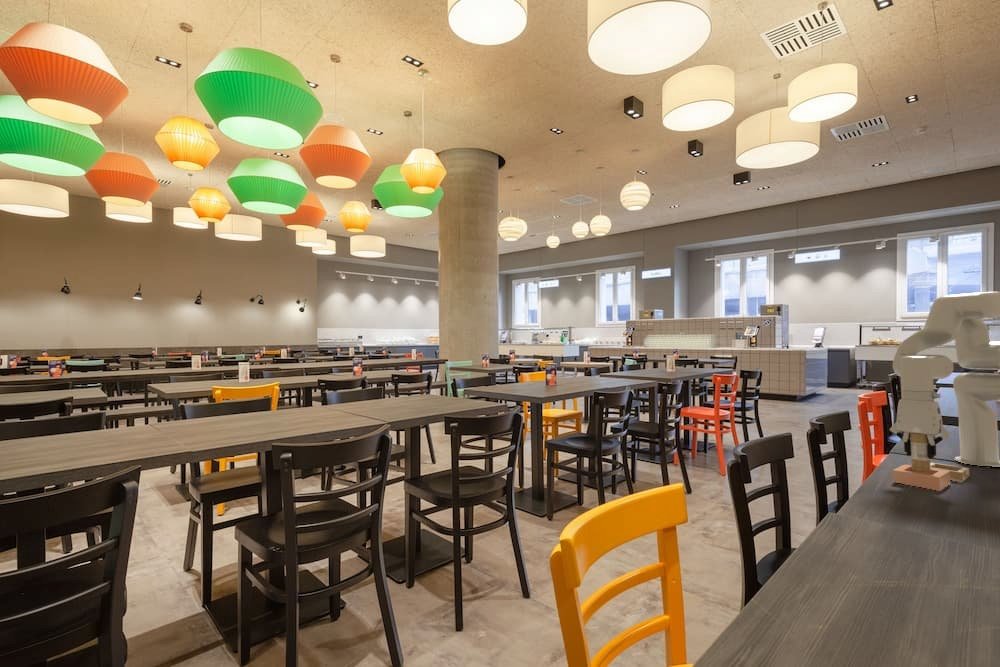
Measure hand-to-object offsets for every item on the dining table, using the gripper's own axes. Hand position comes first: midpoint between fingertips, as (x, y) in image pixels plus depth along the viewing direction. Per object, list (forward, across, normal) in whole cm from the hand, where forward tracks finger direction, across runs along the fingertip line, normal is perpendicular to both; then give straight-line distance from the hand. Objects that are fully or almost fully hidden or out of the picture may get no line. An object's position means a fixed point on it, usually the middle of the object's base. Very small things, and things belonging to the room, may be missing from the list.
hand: (920, 455), depth 145 cm
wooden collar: (+9, -2, -15) cm, 17 cm away
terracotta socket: (+9, 0, 0) cm, 9 cm away
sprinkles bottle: (+5, 0, 0) cm, 5 cm away
